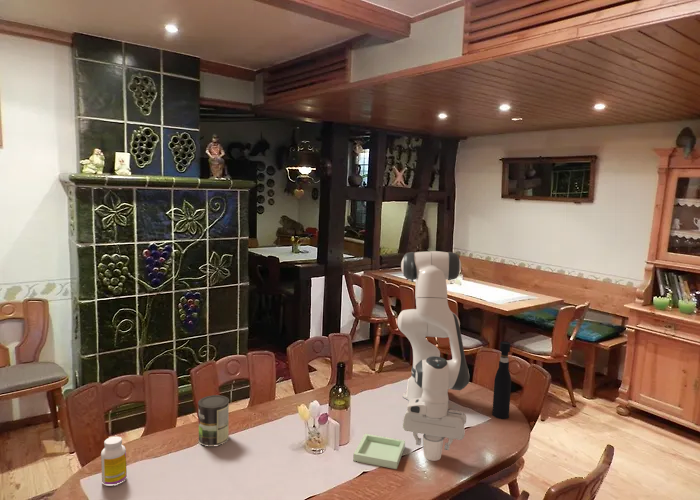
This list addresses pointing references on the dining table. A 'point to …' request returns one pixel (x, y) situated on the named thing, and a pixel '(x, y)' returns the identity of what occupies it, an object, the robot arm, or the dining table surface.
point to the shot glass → (432, 447)
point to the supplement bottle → (113, 461)
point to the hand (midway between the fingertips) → (432, 446)
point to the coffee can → (213, 420)
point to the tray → (379, 451)
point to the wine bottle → (502, 384)
